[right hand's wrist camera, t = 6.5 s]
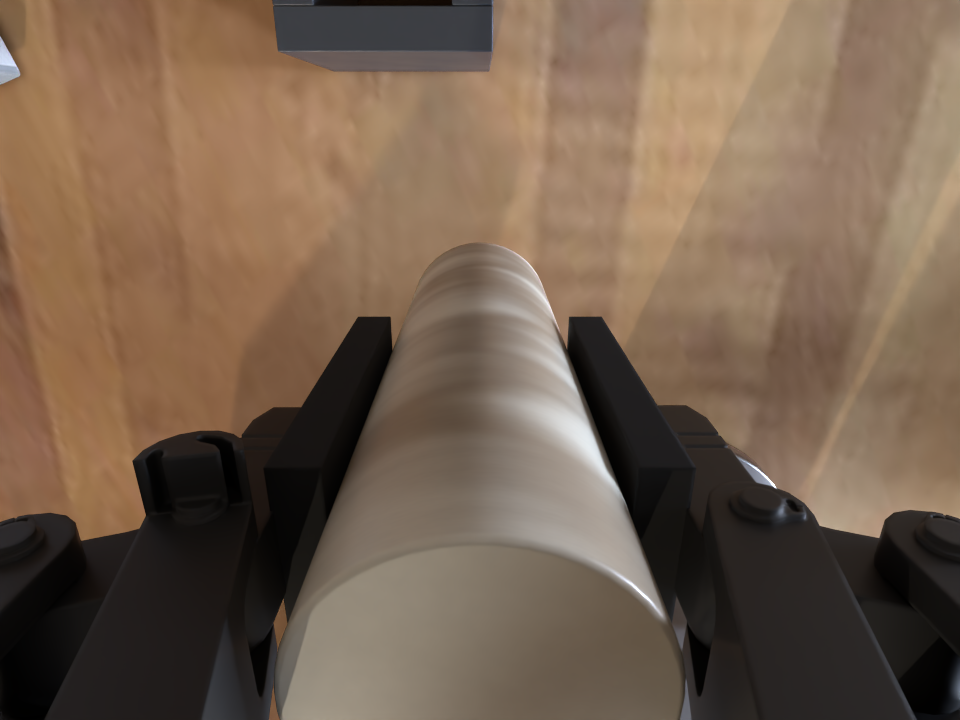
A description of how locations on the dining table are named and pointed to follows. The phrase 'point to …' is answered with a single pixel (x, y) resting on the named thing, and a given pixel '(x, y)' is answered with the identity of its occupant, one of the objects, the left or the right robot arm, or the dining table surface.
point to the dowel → (479, 533)
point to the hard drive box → (7, 65)
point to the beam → (386, 35)
